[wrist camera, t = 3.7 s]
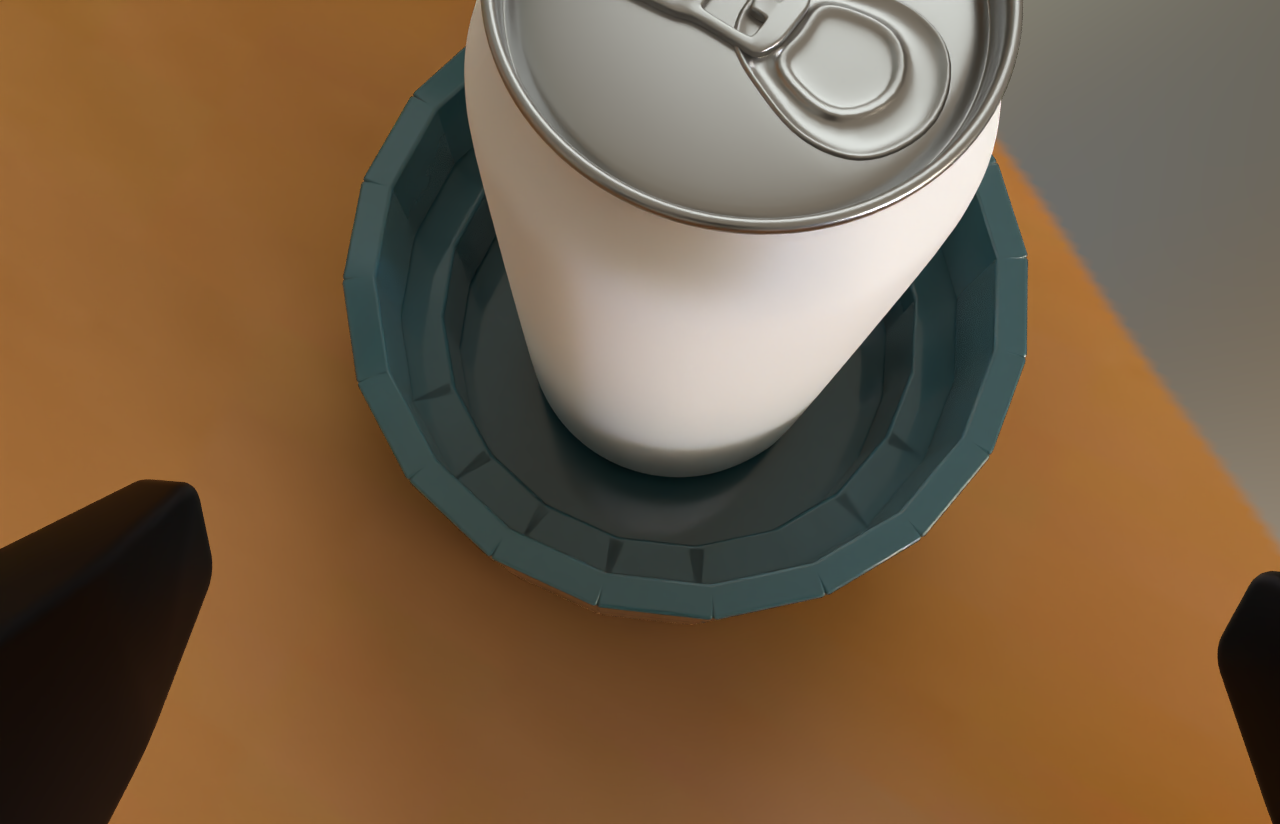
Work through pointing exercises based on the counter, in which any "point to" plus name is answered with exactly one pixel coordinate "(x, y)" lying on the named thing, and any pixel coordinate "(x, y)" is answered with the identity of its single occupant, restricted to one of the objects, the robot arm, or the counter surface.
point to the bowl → (648, 504)
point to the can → (721, 196)
